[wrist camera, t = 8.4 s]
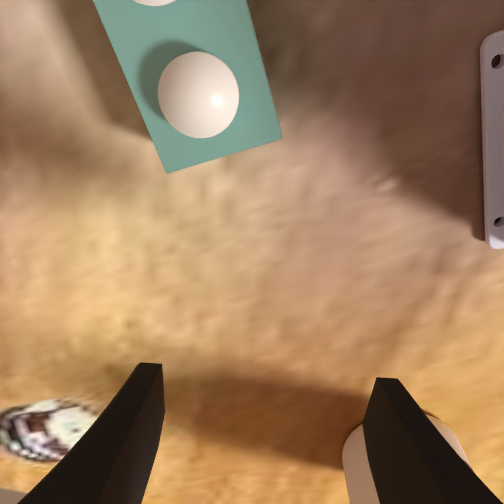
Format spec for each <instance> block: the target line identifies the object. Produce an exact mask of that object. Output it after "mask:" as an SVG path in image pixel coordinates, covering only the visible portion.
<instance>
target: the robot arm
mask: <svg viewBox="0 0 504 504" xmlns="http://www.w3.org/2000/svg"><path fill="white" fill-rule="evenodd" d="M498 54H499V55H500V58H501V59H500V63H499V64H498V65H497V66H496V67H494V68H492V65H491V62H492V59H493V58H494V57H495V56H496V55H498ZM480 70H481V107H482V143H483V180H484V217H485V241H486V243H487V244H488V245H489V246H490V247H491V248H493V249H501V248H504V30H501V31H498V32H494V33H492V34H490V35H488V36H487V37H486V38H485V39H484V41H483V43H482V45H481V48H480ZM499 217H501V220H500V221H499V222H498V223H495V224H494V221H495V220H496V219H497V218H499ZM164 415H165V404H164V388H163V372H162V364H156V363H139V364H138V365H137V366H136V368H135V369H134V371H133V372H132V374H131V375H130V376H129V378H128V379H127V381H126V382H125V384H124V385H123V386H122V388H121V389H120V390H119V392H118V393H117V394H116V396H115V397H114V398H113V400H112V401H111V402H110V404H109V405H108V406H107V407H106V409H105V410H104V411H103V412H102V413H101V415H100V416H99V417H98V418H97V420H96V421H95V422H94V423H93V425H92V426H91V427H90V428H89V429H88V431H87V432H86V433H85V434H84V435H83V436H82V437H81V438H80V440H79V441H78V442H77V443H76V444H75V445H74V446H73V448H72V449H71V450H70V451H69V452H68V453H67V454H66V455H65V456H64V458H63V459H62V460H61V461H60V462H59V463H58V464H57V465H56V466H55V467H54V468H53V469H52V470H51V471H50V472H49V473H48V474H47V475H46V476H45V477H44V478H43V479H42V480H41V481H40V482H39V483H38V484H37V485H36V486H35V487H34V488H33V489H32V490H31V491H30V492H29V493H28V494H27V495H26V496H25V497H24V498H23V499H22V500H20V501H19V502H18V503H17V504H141V503H142V499H143V496H144V493H145V490H146V486H147V483H148V480H149V476H150V473H151V470H152V467H153V463H154V460H155V457H156V453H157V450H158V446H159V441H160V436H161V431H162V425H163V420H164ZM362 426H363V433H364V439H365V446H366V451H367V457H368V462H369V466H370V470H371V473H372V477H373V481H374V484H375V488H376V492H377V495H378V499H379V502H380V504H503V503H502V502H501V501H500V500H499V499H498V498H497V497H496V496H495V495H494V494H493V493H492V492H491V491H490V490H489V488H488V487H487V486H486V485H485V484H484V483H483V482H482V481H481V480H480V479H479V478H478V476H477V475H476V474H475V473H474V472H473V471H472V470H471V469H470V468H469V466H468V465H467V464H466V463H465V462H464V461H463V460H462V458H461V457H460V456H459V455H458V454H457V453H456V451H455V450H454V449H453V448H452V447H451V445H450V444H449V443H448V442H447V440H446V439H445V438H444V437H443V436H442V434H441V433H440V432H439V431H438V430H437V428H436V427H435V426H434V425H433V423H432V422H431V421H430V420H429V418H428V417H427V416H426V414H425V413H424V412H423V411H422V409H421V408H420V407H419V405H418V404H417V403H416V402H415V400H414V399H413V398H412V396H411V395H410V394H409V392H408V391H407V390H406V388H405V387H404V386H403V385H402V383H401V382H400V381H399V380H398V379H395V378H379V377H377V378H376V381H375V384H374V388H373V391H372V394H371V397H370V401H369V404H368V407H367V410H366V414H365V417H364V420H363V424H362Z"/></svg>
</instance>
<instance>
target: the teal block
mask: <svg viewBox="0 0 504 504" xmlns="http://www.w3.org/2000/svg"><path fill="white" fill-rule="evenodd" d="M93 2H94V4H95V7H96V9H97V11H98V14H99V16H100V18H101V21H102V23H103V25H104V28H105V30H106V32H107V35H108V37H109V39H110V42H111V44H112V47H113V49H114V51H115V54H116V56H117V58H118V61H119V63H120V65H121V68H122V70H123V72H124V75H125V77H126V80H127V82H128V84H129V87H130V89H131V91H132V94H133V96H134V98H135V101H136V103H137V105H138V108H139V110H140V113H141V115H142V117H143V120H144V122H145V124H146V127H147V129H148V131H149V134H150V136H151V138H152V141H153V143H154V146H155V148H156V150H157V153H158V155H159V157H160V160H161V162H162V164H163V167H164V169H165V171H166V174H167V173H171V172H174V171H177V170H181V169H184V168H187V167H191V166H194V165H197V164H201V163H204V162H207V161H210V160H214V159H217V158H220V157H224V156H227V155H230V154H234V153H237V152H240V151H244V150H247V149H250V148H253V147H257V146H260V145H263V144H267V143H270V142H273V141H277V140H280V139H283V138H282V133H281V128H280V123H279V118H278V115H277V111H276V107H275V103H274V99H273V96H272V92H271V88H270V84H269V81H268V77H267V73H266V69H265V66H264V62H263V58H262V54H261V50H260V47H259V43H258V39H257V35H256V32H255V28H254V24H253V20H252V17H251V13H250V9H249V5H248V1H247V0H93Z"/></svg>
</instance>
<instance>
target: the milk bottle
mask: <svg viewBox="0 0 504 504" xmlns="http://www.w3.org/2000/svg"><path fill="white" fill-rule="evenodd" d="M426 416H427V417H428V418H429V420H430V421H431V422H432V423H433V425H434V426H435V427H436V428H437V430H438V431H439V432H440V433H441V434H442V436H443V437H444V438H445V439H446V440H447V442H448V443H449V444H450V445H451V447H452V448H453V449H454V450H455V451H456V453H457V454H458V455H459V456H460V457H461V458H462V460H463V461H464V462H465V463H466V464H467V465H468V466H469V468H470V469H471V470H472V468H471V465H470V463H469V461H468V459H467V457H466V455H465V453H464V451H463V449H462V447H461V445H460V443H459V441H458V439H457V438H456V436H455V434H454V433H453V431H452V430H451V429H450V428H449V427H448V426H446V425H445V424H444V423H443V422H441V421H440V420H438V419H436V418H434V417H432V416H429V415H426ZM342 461H343V468H344V474H345V480H346V485H347V491H348V496H349V501H350V504H380V502H379V499H378V495H377V492H376V488H375V484H374V481H373V477H372V473H371V470H370V466H369V462H368V457H367V451H366V446H365V439H364V433H363V426H362V424H361V425H359V426H358V427H357V428H356V429H355V430H353V431H352V432H351V434H350V435H349V436H348V438H347V440H346V442H345V444H344V448H343V452H342ZM472 471H473V470H472Z"/></svg>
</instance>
